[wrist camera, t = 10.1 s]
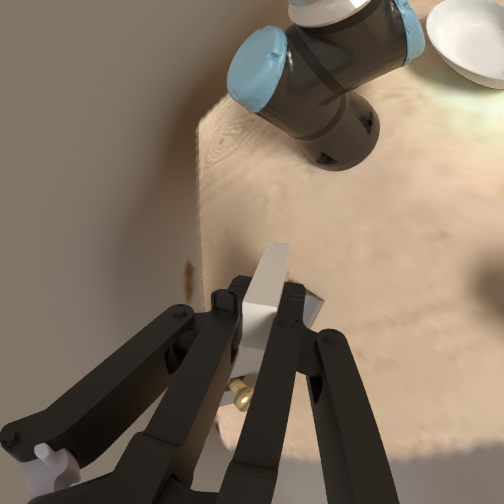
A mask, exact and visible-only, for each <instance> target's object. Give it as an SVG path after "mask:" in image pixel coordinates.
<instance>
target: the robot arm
mask: <svg viewBox="0 0 504 504" xmlns="http://www.w3.org/2000/svg"><path fill="white" fill-rule="evenodd" d="M287 1H288V2H289V11H288V13H289V17H290V19H291V20H292V21H293V22H294V24H293V25H291V26H290V27H289V28H287V29H285V30H284V31H283V30H282V29H281V28H279V27H275V26H266V27H264V28H260V29H258V30H257V31H255V32H254V33H253V34H252V35H250V37H249V38H248V39H247V40H246V41H245V42H244V43H243V44H242V46H241V47H240V48H239V50H238V51H237V53H236V55H235V56H234V59H233V60H232V63H231V65H230V68H229V71H228V76H227V88H228V92H229V94H230V96H231V97H232V98H233V99H234V100H235V101H236V102H238V103H239V104H241V105H242V106H243V107H245V108H246V109H247V110H248V111H249V112H251V113H255V114H257V115H258V116H260V117H262V118H263V119H265V120H267V121H268V122H270V123H272V124H273V125H275V126H276V127H278V128H280V129H281V130H283V131H284V132H286V133H288V134H289V135H291V136H292V137H294V138H295V140H296V141H297V143H298V145H299V146H300V148H301V149H302V151H303V153H304V154H305V155H306V157H307V158H308V159H309V160H310V161H311V162H313V163H314V164H316V165H317V166H319V167H321V168H323V169H325V170H329V171H342V170H346V169H349V168H352V167H354V166H356V165H357V164H359V163H360V162H362V161H363V160H364V159H365V158H366V157H367V156H368V155H369V154H370V153H371V151H372V150H373V148H374V147H375V145H376V142H377V140H378V137H379V131H380V123H379V118H378V115H377V113H376V112H375V110H374V109H373V107H372V106H371V105H370V104H369V102H368V101H367V100H366V99H364V98H363V97H362V96H360V95H358V94H356V93H354V92H352V91H351V90H353V89H355V88H357V87H359V86H361V85H363V84H365V83H367V82H369V81H371V80H373V79H375V78H377V77H379V76H381V75H384V74H386V73H388V72H390V71H392V70H395V69H397V68H399V67H403V66H405V65H406V64H407V63H408V62H410V61H411V60H413V59H415V58H417V57H419V56H420V55H421V54H422V53H423V52H424V49H425V37H424V33H423V30H422V27H421V24H420V22H419V20H418V18H417V16H416V14H415V12H414V10H413V9H412V8H411V7H410V6H409V3H408V1H407V0H287ZM291 250H292V244H286V243H279V242H272V241H268V243H267V246H266V248H265V250H264V253H263V255H262V257H261V260H260V262H259V264H258V267H257V269H256V271H255V274H254V276H253V277H248V276H241V275H239V276H237V277H236V278H234V279H233V280H232V282H231V284H230V286H229V288H228V289H218V290H216V291H214V292H213V293H212V294H211V305H212V309H211V311H210V312H205V313H194V310H193V309H192V307H190V306H188V305H185V304H177V305H173V306H171V307H169V308H168V309H167V310H165V311H164V312H163V313H162V314H160V315H159V316H158V317H157V318H156V319H154V320H153V321H152V322H151V323H149V324H148V325H147V326H146V327H144V328H143V329H142V330H141V331H140V332H138V333H137V334H136V335H135V336H134V337H132V338H131V339H130V340H129V341H127V342H126V343H125V344H124V345H122V346H121V347H120V348H119V349H118V350H117V351H115V352H114V353H113V354H112V355H110V356H109V357H108V358H107V359H105V360H104V361H103V362H102V363H101V364H100V365H98V366H97V367H96V368H95V369H94V370H92V371H91V372H90V373H89V374H87V375H86V376H85V377H84V378H83V379H81V380H80V381H79V382H78V383H76V384H75V385H74V386H73V387H72V388H70V389H69V390H68V391H67V392H66V393H64V394H63V395H62V396H61V397H60V398H58V400H56V401H55V402H54V403H53V404H51V405H50V406H49V407H48V408H47V409H45V410H43V411H41V412H38V413H36V414H33V415H30V416H28V417H25V418H22V419H20V420H17V421H14V422H11V423H8V424H7V425H5V426H4V427H3V428H2V430H1V432H0V443H1V446H2V447H3V448H4V449H5V450H6V451H7V452H8V453H9V454H10V455H11V456H13V457H14V458H15V459H16V460H17V461H18V463H19V466H20V469H21V472H22V475H23V478H24V481H25V483H26V486H27V488H28V491H29V493H30V496H31V498H32V500H30V501H29V502H28V503H27V504H271V501H272V497H273V493H274V489H275V485H276V480H277V475H278V467H279V461H280V457H281V452H282V447H283V442H284V437H285V432H286V427H287V422H288V416H289V411H290V405H291V399H292V394H293V388H294V381H295V375H296V371H297V372H299V373H302V374H304V375H306V380H307V386H308V391H309V396H310V401H311V407H312V412H313V418H314V423H315V429H316V434H317V440H318V446H319V452H320V458H321V464H322V470H323V476H324V482H325V488H326V495H327V501H328V504H400V503H399V500H398V496H397V492H396V488H395V485H394V481H393V477H392V474H391V470H390V467H389V463H388V460H387V456H386V453H385V450H384V446H383V443H382V440H381V437H380V433H379V430H378V427H377V424H376V421H375V418H374V415H373V412H372V409H371V406H370V403H369V400H368V397H367V394H366V391H365V388H364V386H363V383H362V380H361V377H360V374H359V372H358V369H357V366H356V363H355V361H354V358H353V355H352V352H351V350H350V347H349V345H348V342H347V339H346V337H345V336H344V334H342V333H341V332H340V331H337V330H335V329H323V330H321V331H320V332H319V333H317V332H314V331H312V330H310V329H309V328H307V327H306V326H305V325H304V323H303V312H304V304H305V295H306V289H305V287H304V285H303V284H298V283H291V282H288V274H289V266H290V258H291ZM240 342H241V346H244V347H249V348H254V349H260V350H265V352H264V356H263V359H262V363H261V367H260V370H259V374H258V377H257V381H256V384H255V388H254V391H253V394H252V398H251V401H250V405H249V408H248V411H247V415H246V418H245V421H244V424H243V428H242V431H241V434H240V437H239V440H238V444H237V447H236V450H235V453H234V456H233V459H232V460H231V462H230V463H229V466H228V468H227V471H226V473H225V476H224V479H223V482H222V485H221V488H220V491H219V493H216V492H200V491H193V490H192V489H190V487H191V484H192V481H193V474H194V470H195V467H196V464H197V462H198V459H199V457H200V454H201V452H202V449H203V447H204V444H205V441H206V439H207V436H208V434H209V431H210V428H211V426H212V423H213V421H214V418H215V415H216V413H217V410H218V408H219V405H220V402H221V400H222V397H223V394H224V392H225V389H226V386H227V384H228V381H229V378H230V375H231V373H232V370H233V367H234V365H235V362H236V359H237V356H238V354H239V344H240ZM168 386H169V387H168ZM167 387H168V389H167V391H166V393H165V394H164V396H163V398H162V400H161V402H160V404H159V405H158V407H157V409H156V411H155V413H154V415H153V416H152V418H151V420H150V422H149V424H148V426H147V427H146V429H145V430H144V431H143V432H137V433H136V434H135V435H134V436H133V437H132V439H131V440H130V442H129V444H128V446H127V447H126V449H125V451H124V453H123V455H122V456H121V458H120V460H119V462H118V464H117V465H116V467H115V469H114V471H113V472H111V473H108V474H105V475H103V476H100V477H98V478H95V479H92V480H89V481H87V482H84V483H81V484H78V485H75V486H72V487H70V485H72V484H73V483H78V482H79V481H80V479H81V476H80V469H82V468H84V467H86V466H87V465H89V464H90V463H92V462H93V461H95V460H96V459H97V458H98V457H99V456H100V455H102V454H103V453H104V452H105V451H106V450H107V449H108V448H109V447H110V446H111V445H112V444H113V443H114V442H115V441H116V440H117V439H118V438H119V437H120V436H121V435H122V434H123V433H124V432H125V431H126V430H127V429H128V428H129V427H130V426H131V424H133V423H134V422H135V421H136V420H137V418H139V416H140V415H141V414H142V413H143V412H144V411H145V410H146V409H147V408H148V407H149V406H150V405H151V404H152V403H153V402H154V401H155V400H156V399H157V398H158V397H159V396H160V395H161V393H163V392H164V390H165V389H166V388H167Z"/></svg>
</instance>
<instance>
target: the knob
mask: <svg viewBox="0 0 504 504" xmlns="http://www.w3.org/2000/svg"><path fill="white" fill-rule="evenodd" d="M227 387H228V388H229V389H230V390H231V391H232V392H233V394H234V395H235V396H236V397H235V398H234V401H233V403H234V404H235V405H236V407H237V408H238V409H239V410H240V411H241V412H245V411H248V408H249V405H250V401H251V398H252V394H253V391H254V388H255V385H251V386H248V387H247V386H246V384H245V383H244V382H243V381H242V380H241V379H240V378H239V377H234V378H230V380H229V382H228V384H227Z"/></svg>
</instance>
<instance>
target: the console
mask: <svg viewBox="0 0 504 504" xmlns="http://www.w3.org/2000/svg"><path fill="white" fill-rule="evenodd" d="M223 289H228V288H224V287H223ZM323 303H324V300H322V299H321V298H319V297H318V296H316V295H315V294H313V293H312V292H310V291H308V290H307V289H306V295H305V304H304V312H303V323H304V325H305V326H306V327H307V328H309V329H311V327H312V325H313V323H314V321H315V319H316V317H317V315H318V313H319V311H320V309H321V307H322V305H323ZM264 352H265V350H260V349H254V348H249V347H244V346H241V342H240V344H239V354H238V356H237V359H236V362H235V365H234V367H233V370H232V373H231V375H230V378H234V377H239V378H240V379H241V380H242V381H243V382H244V383H245V384H246V386H247V387H248V386H251V385H255V384H256V381H257V377H258V374H259V370H260V367H261V363H262V359H263V356H264ZM230 378H229V380H230ZM228 382H229V381H228ZM235 397H236V396H235V395H234V394H233V392H232V391H231V390H230V389H229V388H228V387H227V386H226V389H225V392H224V394H223V397H222V400H221V402H220V405H219V407H220V406H224V405H228V404H232V403H233V401H234V398H235Z"/></svg>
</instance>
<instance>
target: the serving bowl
mask: <svg viewBox="0 0 504 504" xmlns="http://www.w3.org/2000/svg"><path fill="white" fill-rule="evenodd" d="M426 32H427V35H428V38H429V40H430V42H431V44H432V45H433V47H434V48H435V50H436V51H437V53H438V54H439V55H440V57H441V58H442V59H443V60H444V61H445V62H446V63H447V64H448V65H449V66H450V67H451V68H453V69H454V70H455V71H456V72H458V73H459V74H461V75H462V76H464V77H466V78H467V79H469V80H471V81H473V82H475V83H478V84H480V85H483V86H486V87H490V88H495V89H503V90H504V5H503V4H501V3H499V2H496V1H493V0H445V1H442V2H441V3H439V4H438V5H436V6H435V7H434V8H433V9H432V10H431V11H430V13H429V15H428V17H427V20H426Z"/></svg>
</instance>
